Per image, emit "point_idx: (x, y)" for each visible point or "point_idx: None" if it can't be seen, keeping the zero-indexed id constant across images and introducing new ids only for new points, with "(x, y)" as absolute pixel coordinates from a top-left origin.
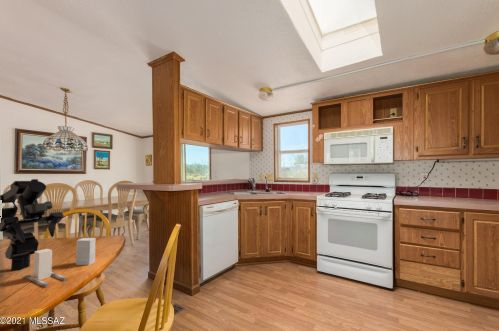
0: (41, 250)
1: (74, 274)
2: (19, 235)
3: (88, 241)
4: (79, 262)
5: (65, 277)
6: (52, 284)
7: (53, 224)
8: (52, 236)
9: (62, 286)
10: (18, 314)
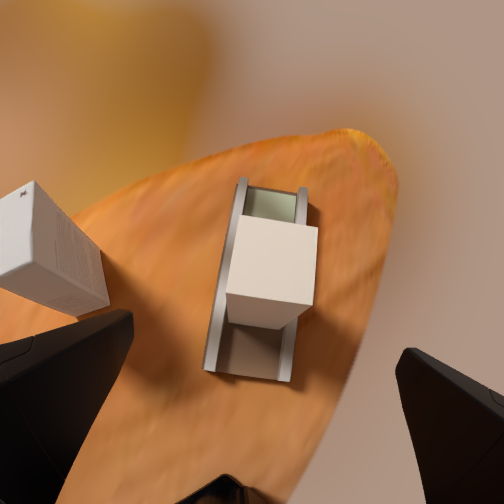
0: (275, 283)
1: (165, 241)
2: (468, 383)
3: (37, 190)
4: (96, 281)
5: (240, 183)
6: None
7: (3, 362)
8: (132, 322)
9: (258, 184)
10: (383, 153)
